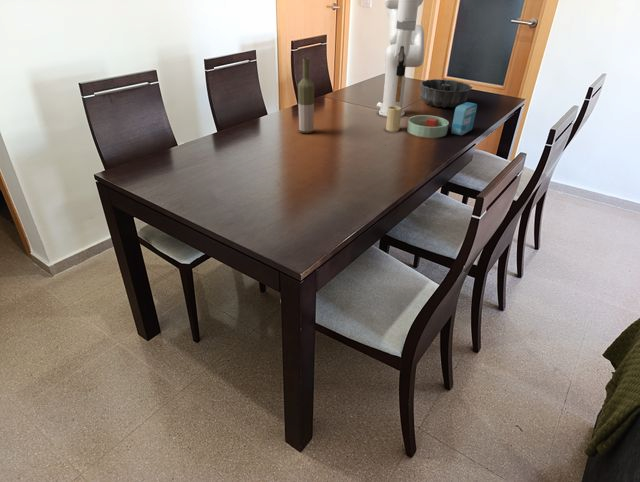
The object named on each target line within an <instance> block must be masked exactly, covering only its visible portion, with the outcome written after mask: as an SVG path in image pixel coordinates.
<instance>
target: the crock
mask: <svg viewBox="0 0 640 482" xmlns="http://www.w3.org/2000/svg"><path fill="white" fill-rule="evenodd" d="M401 110H402V111H403V107H402V108H401V107H398V106H389V107H388V112H387V116H386V121H385V122H386V123H385V130H386V131H387V132H398V131H400V128H401V127H400V126H401V119H402V116H401Z"/></svg>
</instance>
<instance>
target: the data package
mask: <svg viewBox="0 0 640 482" xmlns="http://www.w3.org/2000/svg"><path fill="white" fill-rule="evenodd" d="M477 109H478V104H477V103H474V102H468V101H466V102H465V103H464V104H461V105H459V106H457V107H456V108H454V112H453V113H454V114H453V120H452V126H451V130H450V131H451V134H452V135H457V136H461V137H462V136H463V135H466V134H467V133H469V132H470V131H472V130H473V128H474V123H475V118H476V113H477Z"/></svg>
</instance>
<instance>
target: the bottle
mask: <svg viewBox="0 0 640 482" xmlns="http://www.w3.org/2000/svg"><path fill="white" fill-rule="evenodd" d="M297 98H298V99H297V104H298V131H299V133H301V134H311V133H313V132H314V129H315V127H314V125H315V124H314V123H315V122H314V119H315V83H314V82H313V81H312V80H311V79H310V58H309V57H303V58H302V78H301V80H300V81H299V82H298V84H297Z"/></svg>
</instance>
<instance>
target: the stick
mask: <svg viewBox="0 0 640 482" xmlns="http://www.w3.org/2000/svg"><path fill="white" fill-rule="evenodd" d="M401 85H402V76H398V83H397V92H396V102H399V101H400V94H401Z"/></svg>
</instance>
